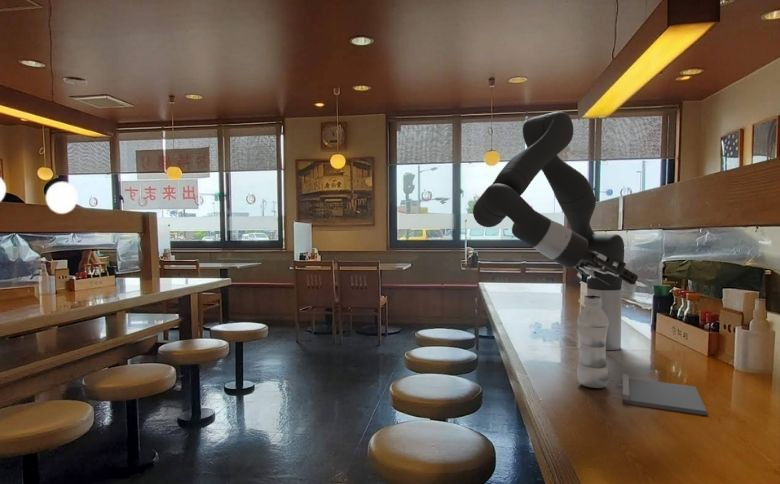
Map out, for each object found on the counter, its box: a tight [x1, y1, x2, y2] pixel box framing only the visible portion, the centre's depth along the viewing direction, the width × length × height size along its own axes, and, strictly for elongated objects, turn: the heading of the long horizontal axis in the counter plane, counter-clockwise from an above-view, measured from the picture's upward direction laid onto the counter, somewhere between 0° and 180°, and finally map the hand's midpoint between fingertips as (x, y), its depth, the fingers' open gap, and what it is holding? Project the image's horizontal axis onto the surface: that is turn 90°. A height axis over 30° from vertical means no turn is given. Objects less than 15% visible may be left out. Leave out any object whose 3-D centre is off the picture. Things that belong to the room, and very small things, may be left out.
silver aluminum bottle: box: [576, 294, 609, 389], centre depth 102 cm, size 6×7×20 cm
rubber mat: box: [622, 372, 708, 416], centre depth 96 cm, size 15×14×2 cm
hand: (623, 281), depth 101 cm, fingers open, 8 cm apart
